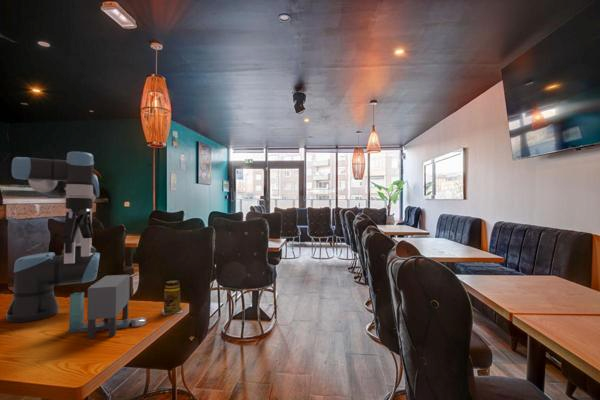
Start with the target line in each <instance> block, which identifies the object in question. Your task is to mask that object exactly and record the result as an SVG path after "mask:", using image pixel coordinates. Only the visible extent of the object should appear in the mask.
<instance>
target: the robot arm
mask: <svg viewBox="0 0 600 400" xmlns="http://www.w3.org/2000/svg"><path fill="white" fill-rule="evenodd" d="M94 165H95V161H94V155H93V153H90V152H85V151H69V152H67V154H66V160H63V159H50V158H39V157H38V158H37V157H27V156H24V157H23V156H15V157H13V159H12V162H11V176H12V177H13V178H14V179H17V180H23V181H25V180H26V181H27V180H28V184H29V186H30V188H31V189H33V190H34V191H35V192H37V193H40V194H43V195H47V196H50V197H60V198H62V197H63V198H64V200H65V209H67V210H68V211H66V213H65V221H64V225H63V229H62V233H61V237H60V244H63V250H61V251H62V252H61V254H60V255H56V253H55V252H52V251H49V252H40V253H34V254H29V255H24V256H22V257H19V258H18V259H16V260H15V262H14V265H13V266H14V269H13V271H12V272H13V292H12V293H13V295H12V296H13V298H12V300H11V302H10V305H9V307H8V310H7V311H6V315H5V316H6V317H5V320H6V322H7V323H14V324H17V323H19V324H20V323H27V322H33V321H39V320H42V319H46V318H49V317H52V316H54V315H57V314H59V311H60V309H59V308H60V305H59V302H58V300H57V298H56V295H55V292H54V291H55V290H54V287H55V286H56V287H57V286H64V285H73V284H74V285H75V284H84V283H88V282H89V283H90V282H93V281H95V280H96V279H97V276H98V271H99V265H100V263H99V262H100V256H101V253H100V252H97V249H96V248H95V246H93V245H92V244H93V241H92V239H94V237H95V236H94V230H93V206H94V205H93V203H94V202H95V201H96V198H99V197H100V184H99V179H98V176H97V175H96V174H94Z"/></svg>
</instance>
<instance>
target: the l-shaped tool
mask: <svg viewBox="0 0 600 400" xmlns="http://www.w3.org/2000/svg"><path fill="white" fill-rule="evenodd" d="M84 309H85V292H84V291H81V292H80V291H79V292H78V291H77V292H72V293H71V294H70V295H69V322H68V323H69V328H68V329H67V334H77V333H88V322H84V317H85V316H84V314H85V310H84ZM132 319H133V318H127V319H116V330H120V329H129V328H130V327H131V320H132ZM98 331H109V320H105V321H104V320H102V321H95V332H98Z"/></svg>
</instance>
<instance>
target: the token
mask: <svg viewBox="0 0 600 400" xmlns="http://www.w3.org/2000/svg"><path fill="white" fill-rule="evenodd" d="M131 319H132V320H131V325H130V327H132V328H140V327H143V326H145V325H147V317H142V316H141V317H135V318H131Z"/></svg>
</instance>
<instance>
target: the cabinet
mask: <svg viewBox="0 0 600 400" xmlns="http://www.w3.org/2000/svg"><path fill="white" fill-rule="evenodd" d="M130 276H131V275H130V274H117V275H116V274H114V275H105V276H104V277H102V278H101V279H99V280H97V282H94V283H93V284H92V285H90V286H89V287H87V302H86V303H87V307H86V310H87V311H86V314H87V315H86V320H87V323H88V332H87V339H89V340H90V339H94V338H95V337H96V331H95V322H97V320H102V319H103V321H109V330H108V337H115V336H116V335H117V329H116V320H117V317H118V316H119V314H120V313H121V311H122V314H121V315H122V318H121V320H124V319H129V302H130V289H131V288H130V285H131V284H130V283H131V281H130V280H131V279H130V278H131V277H130Z"/></svg>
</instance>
